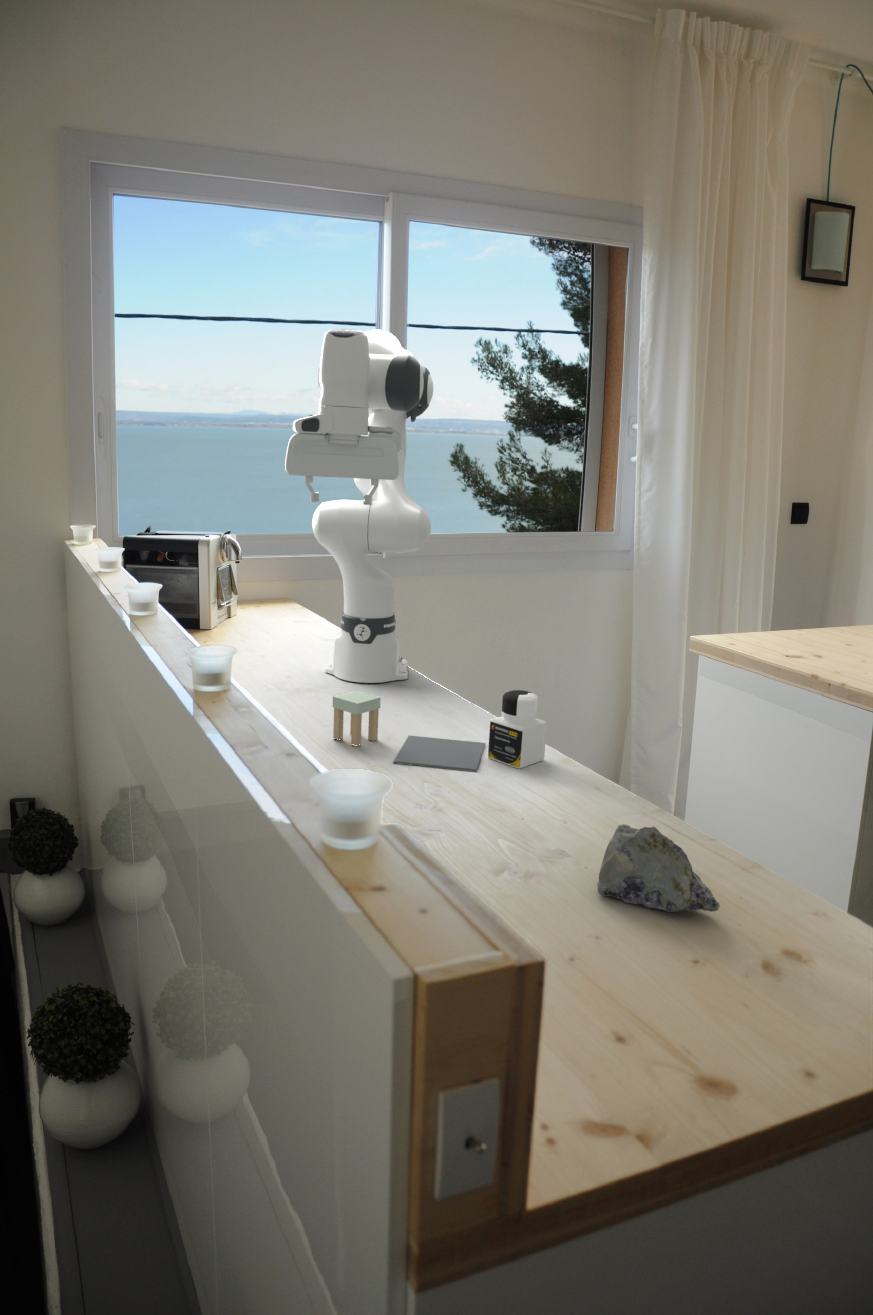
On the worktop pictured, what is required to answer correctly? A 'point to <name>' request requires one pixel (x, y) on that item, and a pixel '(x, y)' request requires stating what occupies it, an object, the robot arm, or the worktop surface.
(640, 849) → the mineral rock
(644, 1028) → the worktop surface
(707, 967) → the worktop surface
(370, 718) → the stool
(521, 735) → the medicine bottle
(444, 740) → the mat
